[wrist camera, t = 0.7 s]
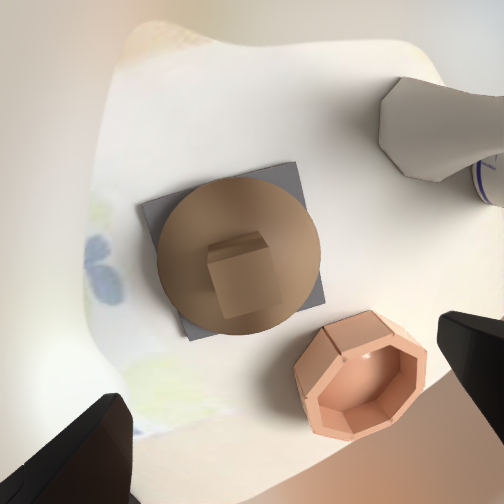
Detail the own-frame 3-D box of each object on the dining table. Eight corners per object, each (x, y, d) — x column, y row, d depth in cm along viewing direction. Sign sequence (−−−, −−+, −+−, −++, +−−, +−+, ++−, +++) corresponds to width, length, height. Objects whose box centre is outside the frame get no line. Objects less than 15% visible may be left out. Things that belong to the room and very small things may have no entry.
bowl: (306, 423, 24) (316, 453, 20) (285, 337, 21) (297, 367, 18) (403, 386, 24) (422, 410, 21) (401, 298, 22) (427, 318, 18)
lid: (188, 342, 20) (183, 385, 16) (139, 203, 17) (116, 215, 13) (326, 303, 20) (353, 337, 16) (296, 159, 18) (322, 158, 13)
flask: (359, 150, 19) (471, 147, 9) (393, 60, 17) (496, 16, 8) (438, 199, 20) (548, 227, 11) (465, 115, 19) (569, 109, 9)
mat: (190, 336, 20) (189, 341, 20) (143, 203, 18) (141, 204, 17) (322, 299, 21) (325, 303, 20) (293, 161, 18) (295, 161, 18)
